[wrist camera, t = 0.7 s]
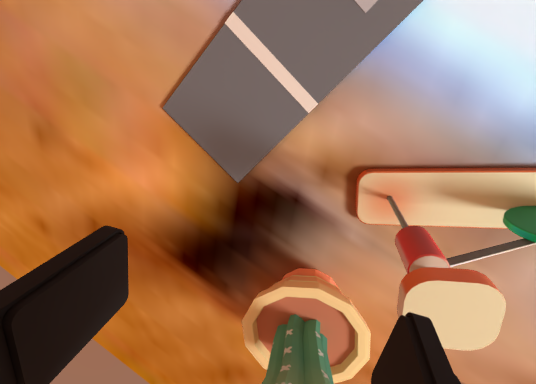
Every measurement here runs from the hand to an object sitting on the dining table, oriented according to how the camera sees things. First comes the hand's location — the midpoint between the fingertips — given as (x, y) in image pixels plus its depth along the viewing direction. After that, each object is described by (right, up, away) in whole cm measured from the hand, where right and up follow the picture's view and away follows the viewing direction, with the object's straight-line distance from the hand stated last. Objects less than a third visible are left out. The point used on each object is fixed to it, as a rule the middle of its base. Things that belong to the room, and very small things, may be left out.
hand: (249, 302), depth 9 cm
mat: (+3, +19, +21) cm, 28 cm away
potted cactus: (+6, -11, +32) cm, 34 cm away
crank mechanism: (+24, +3, +23) cm, 33 cm away
